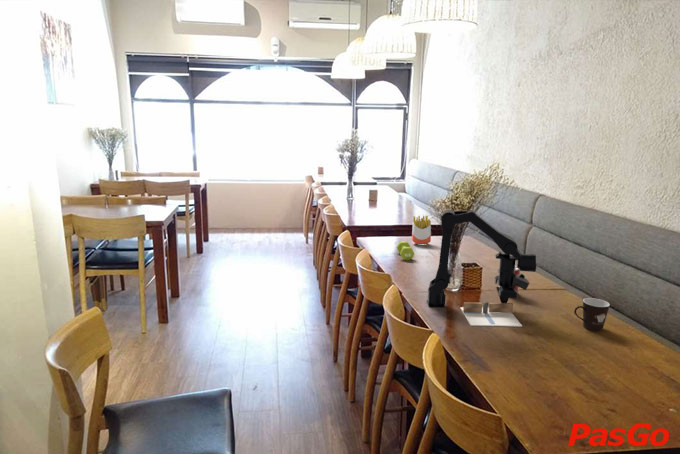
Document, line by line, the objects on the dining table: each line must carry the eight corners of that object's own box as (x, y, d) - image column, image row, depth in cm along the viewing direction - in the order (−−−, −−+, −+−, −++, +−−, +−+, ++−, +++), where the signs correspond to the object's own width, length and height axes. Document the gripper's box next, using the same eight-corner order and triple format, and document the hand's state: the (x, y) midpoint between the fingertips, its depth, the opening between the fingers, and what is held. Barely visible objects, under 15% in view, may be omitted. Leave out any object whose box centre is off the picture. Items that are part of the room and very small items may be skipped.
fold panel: (489, 312, 183) (490, 303, 182) (488, 311, 184) (489, 302, 183) (512, 312, 183) (513, 304, 182) (511, 311, 184) (512, 303, 183)
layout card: (470, 325, 173) (470, 324, 173) (460, 308, 189) (460, 306, 189) (522, 326, 172) (522, 325, 172) (507, 308, 189) (507, 307, 189)
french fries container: (430, 245, 286) (431, 216, 282) (412, 245, 286) (414, 216, 282) (429, 243, 291) (430, 215, 287) (411, 243, 291) (412, 215, 287)
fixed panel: (464, 314, 183) (464, 302, 182) (462, 312, 185) (463, 301, 184) (488, 314, 183) (488, 303, 182) (486, 312, 185) (487, 301, 184)
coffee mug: (603, 324, 174) (607, 299, 172) (608, 334, 166) (612, 308, 164) (569, 320, 178) (572, 295, 176) (572, 329, 170) (575, 304, 168)
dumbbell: (396, 252, 270) (396, 240, 269) (409, 252, 271) (410, 240, 269) (400, 260, 254) (400, 248, 253) (414, 260, 254) (415, 248, 253)
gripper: (533, 278, 172) (529, 317, 175) (524, 263, 190) (520, 299, 193) (501, 276, 174) (498, 315, 177) (495, 262, 192) (492, 297, 195)
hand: (503, 306), depth 186 cm, fingers closed
